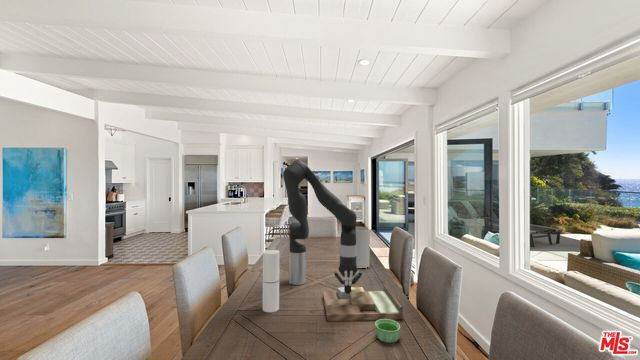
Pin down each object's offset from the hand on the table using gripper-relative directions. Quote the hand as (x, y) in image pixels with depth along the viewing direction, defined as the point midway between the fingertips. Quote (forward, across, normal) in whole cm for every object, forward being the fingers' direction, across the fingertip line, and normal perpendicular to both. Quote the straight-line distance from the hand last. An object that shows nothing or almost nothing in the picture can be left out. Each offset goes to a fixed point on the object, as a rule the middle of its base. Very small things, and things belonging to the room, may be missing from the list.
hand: (347, 293), depth 124 cm
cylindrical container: (+7, -34, 0) cm, 35 cm away
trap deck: (+6, +5, 0) cm, 8 cm away
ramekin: (+7, +11, -24) cm, 27 cm away
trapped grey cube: (+6, 0, +7) cm, 10 cm away
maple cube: (+4, +4, 0) cm, 6 cm away
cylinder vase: (+6, +17, +61) cm, 63 cm away
